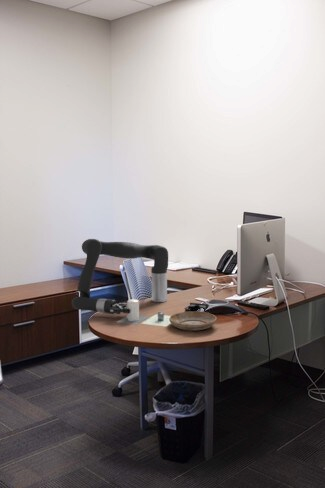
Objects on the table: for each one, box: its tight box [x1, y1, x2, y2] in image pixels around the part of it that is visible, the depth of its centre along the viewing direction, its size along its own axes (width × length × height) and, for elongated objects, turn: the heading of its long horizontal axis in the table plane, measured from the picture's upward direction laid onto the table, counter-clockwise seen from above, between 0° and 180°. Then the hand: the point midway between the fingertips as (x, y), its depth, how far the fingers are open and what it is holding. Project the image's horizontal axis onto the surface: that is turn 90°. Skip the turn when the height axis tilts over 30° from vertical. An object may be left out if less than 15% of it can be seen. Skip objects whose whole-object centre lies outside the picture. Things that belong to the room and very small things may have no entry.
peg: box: [157, 311, 165, 321], centre depth 267 cm, size 3×3×4 cm
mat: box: [115, 314, 151, 326], centre depth 269 cm, size 16×12×1 cm
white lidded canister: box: [126, 298, 140, 321], centre depth 268 cm, size 6×6×10 cm
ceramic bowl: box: [169, 311, 217, 331], centre depth 256 cm, size 23×24×5 cm
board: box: [140, 313, 172, 328], centre depth 267 cm, size 18×14×1 cm
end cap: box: [187, 302, 210, 313], centre depth 275 cm, size 10×7×7 cm
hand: (133, 309), depth 268 cm, fingers open, 8 cm apart
